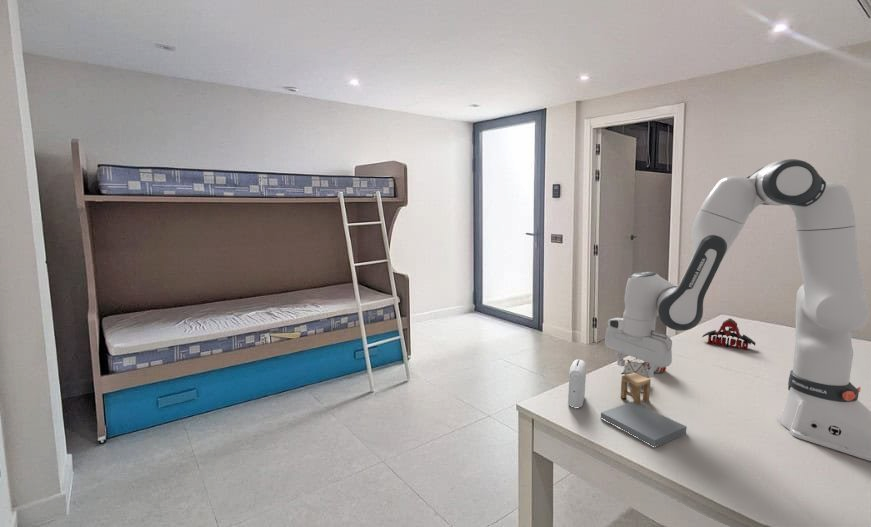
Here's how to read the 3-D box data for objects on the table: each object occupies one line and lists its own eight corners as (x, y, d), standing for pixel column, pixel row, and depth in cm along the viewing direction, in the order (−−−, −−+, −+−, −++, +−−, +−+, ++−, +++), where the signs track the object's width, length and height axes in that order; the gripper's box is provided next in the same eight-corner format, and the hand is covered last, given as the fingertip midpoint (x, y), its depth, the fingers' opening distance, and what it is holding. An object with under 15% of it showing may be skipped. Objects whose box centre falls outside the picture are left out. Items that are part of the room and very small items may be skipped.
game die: (629, 394, 143) (613, 371, 142) (632, 376, 150) (616, 354, 148) (656, 388, 137) (639, 364, 136) (657, 370, 144) (641, 347, 142)
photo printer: (582, 410, 125) (584, 369, 123) (566, 407, 127) (568, 366, 125) (585, 395, 134) (587, 357, 132) (571, 392, 136) (572, 355, 134)
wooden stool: (648, 401, 130) (650, 378, 129) (636, 405, 127) (638, 382, 126) (632, 393, 135) (633, 372, 134) (620, 397, 132) (621, 376, 131)
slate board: (685, 433, 112) (686, 426, 112) (654, 447, 106) (654, 440, 105) (631, 407, 126) (631, 401, 126) (600, 419, 120) (601, 412, 119)
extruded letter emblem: (701, 342, 182) (703, 316, 180) (702, 340, 185) (704, 315, 183) (754, 351, 171) (757, 324, 169) (754, 349, 174) (757, 322, 172)
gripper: (679, 334, 120) (674, 381, 123) (616, 316, 138) (613, 357, 140) (665, 338, 117) (660, 386, 120) (603, 319, 135) (599, 361, 137)
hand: (634, 370), depth 130 cm, fingers open, 8 cm apart
